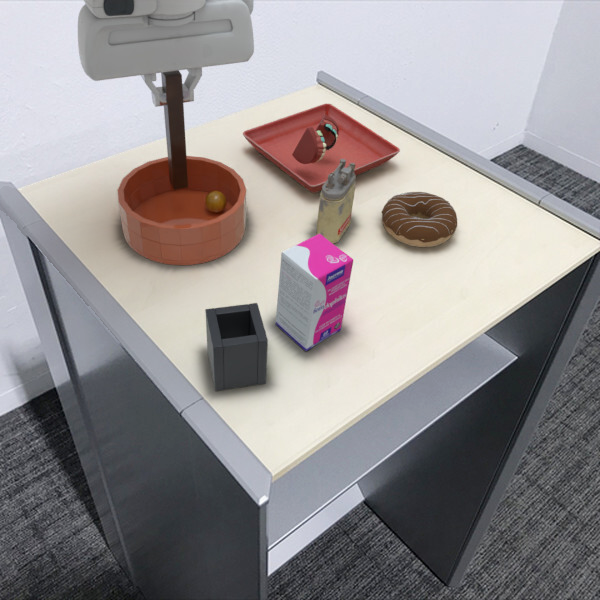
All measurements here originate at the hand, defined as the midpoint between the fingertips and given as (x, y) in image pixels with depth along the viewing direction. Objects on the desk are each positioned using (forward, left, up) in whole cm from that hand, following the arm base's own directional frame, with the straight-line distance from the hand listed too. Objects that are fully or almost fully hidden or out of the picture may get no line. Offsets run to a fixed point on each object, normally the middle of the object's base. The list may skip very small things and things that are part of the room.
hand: (173, 102), depth 82 cm
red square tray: (+23, +11, -17) cm, 31 cm away
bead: (+5, -1, -15) cm, 15 cm away
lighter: (+20, -7, -17) cm, 27 cm away
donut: (+32, -9, -17) cm, 37 cm away
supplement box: (+12, -25, -17) cm, 33 cm away
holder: (+3, -29, -17) cm, 34 cm away
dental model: (+24, +9, -11) cm, 28 cm away
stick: (0, 0, -12) cm, 12 cm away
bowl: (0, -3, -17) cm, 17 cm away
